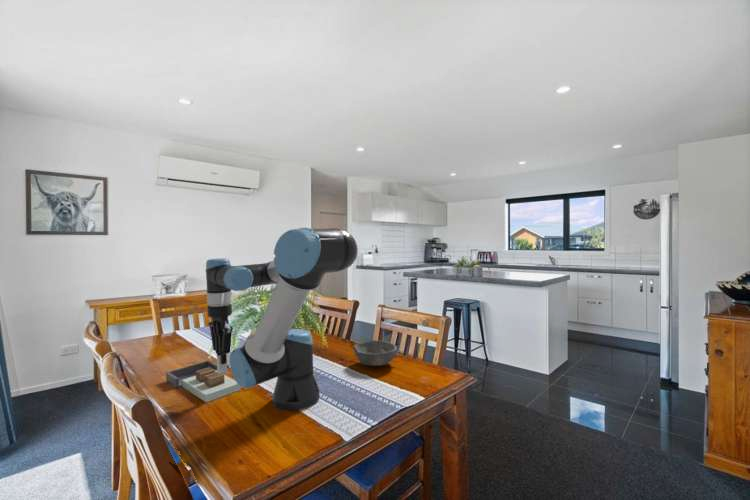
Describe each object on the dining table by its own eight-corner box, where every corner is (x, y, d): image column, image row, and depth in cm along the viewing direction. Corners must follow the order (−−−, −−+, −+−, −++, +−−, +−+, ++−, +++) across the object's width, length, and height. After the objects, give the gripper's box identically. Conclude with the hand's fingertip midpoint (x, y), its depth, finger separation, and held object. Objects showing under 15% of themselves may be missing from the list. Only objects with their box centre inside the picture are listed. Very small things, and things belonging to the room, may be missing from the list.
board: (240, 390, 126) (240, 383, 126) (206, 402, 117) (205, 395, 117) (215, 376, 139) (214, 369, 139) (182, 386, 130) (182, 379, 130)
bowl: (404, 368, 142) (404, 348, 142) (363, 376, 136) (362, 355, 135) (386, 354, 159) (386, 337, 159) (349, 360, 152) (348, 342, 152)
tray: (220, 374, 141) (219, 365, 140) (176, 388, 129) (176, 378, 128) (208, 368, 147) (208, 360, 147) (166, 381, 135) (166, 372, 135)
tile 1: (215, 378, 131) (215, 370, 131) (201, 382, 127) (201, 374, 127) (209, 374, 134) (209, 367, 134) (195, 379, 130) (195, 371, 130)
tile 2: (224, 383, 126) (224, 374, 126) (210, 387, 122) (210, 379, 122) (218, 379, 129) (217, 371, 129) (204, 384, 126) (203, 375, 125)
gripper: (239, 304, 118) (242, 373, 120) (221, 300, 127) (224, 364, 128) (217, 308, 113) (220, 381, 114) (200, 303, 121) (202, 370, 123)
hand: (222, 372), depth 121 cm, fingers closed
